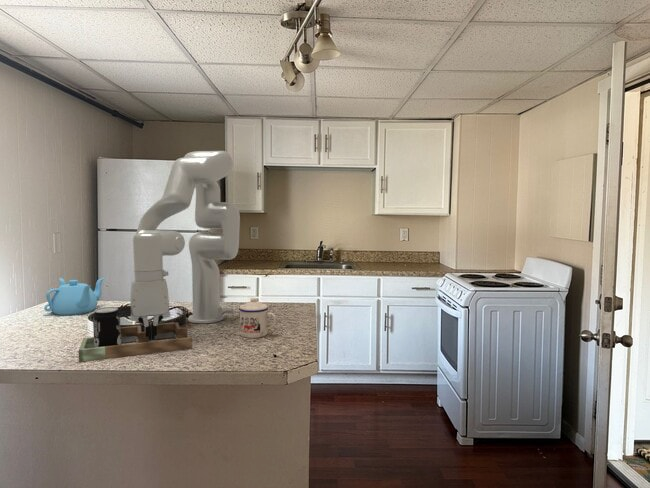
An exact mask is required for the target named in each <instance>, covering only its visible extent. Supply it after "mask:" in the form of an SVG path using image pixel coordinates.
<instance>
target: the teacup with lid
mask: <svg viewBox="0 0 650 488" xmlns="http://www.w3.org/2000/svg"><path fill="white" fill-rule="evenodd" d="M238 309H239V334H240V336H241V337H243V338H247V339H257V338H262V337H265V336H266V335H268V329H272V328H273V327H274V326H275V325H276V323H277V316H276V315H275V313H273V312H268V310H269V306H268V305H267V304H266V303H262V302H261V301H258V299H257V298H256V297H251V298H250V301H247V302H246V303H244V304H241V305H240V306H239V308H238ZM268 316H271V317H272V319H273V322H272V324H271V325H268Z"/></svg>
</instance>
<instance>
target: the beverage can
mask: <svg viewBox="0 0 650 488" xmlns="http://www.w3.org/2000/svg"><path fill="white" fill-rule="evenodd" d="M92 322H93V323H92V324H93V325H92V326H93V337H94V348H96V347H105V346H114V345H122V344H121V313H120V311H119V308H118V307H117V306H105V307H99V308H95V309H94V314H93V316H92Z"/></svg>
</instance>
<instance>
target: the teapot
mask: <svg viewBox="0 0 650 488" xmlns="http://www.w3.org/2000/svg"><path fill="white" fill-rule="evenodd" d="M105 278H106V277H101V278H99V279H97V281H96V283H95V287H94V290H92V288H91V286H92V285H89V284H87V283H79V280H78V279H71V280H68V283H67V284H66V281H65V279H64V278H63V277H59V278H58V280H59V287H56V288H55V287H54V288H51V289H48V290H47V292H46V294H45V298H46V301H47V304H45V306H44V308H43V309H44V311H45V312H52V313H53V314H55V315H57V316H75V315H77V316H78V315H82V314H86V313H87V314H88V313H91V312H93V311H95V310H96V308H97V306H98V301H99V300H100V298H101V296H102V282H103V281H104V280H105ZM53 292H54V293H53ZM51 293H53V295H52V297H51ZM48 307H49V308H48Z"/></svg>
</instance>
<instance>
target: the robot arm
mask: <svg viewBox="0 0 650 488" xmlns="http://www.w3.org/2000/svg"><path fill="white" fill-rule="evenodd" d="M233 163H234V162H233V158H232V156H231V155H230V153H228V152H227V151H225V150H197V151H191V152H188V153H186V154H185V155H184V156H183V157H180V158H177V159H176V160H175V161H173V164H172V165H171V170H170V172H169V175H168V179H167V182H166V185H165V188H164V191H163V195H162V196H161V198H160V199H158V200H157V201H156V202H155V203H153V205H151V206H150V207H149V209H148V210H146V212H144V214H143V215H142V217H141V218H140V220H139V223H138V225H137V229H136V233H135V234H134V235H133V237H132V247H133V249H132V250H133V272H134V280H132V281H131V285H130V318H129V321H132V322H138V323H140V324H141V325H143V326H145V332H146V337H148V339H149V341H156V340H155V337H154V336H157V325H158V324H160V323H161V321H163V320H164V319H167V318H170V317H171V312H170V299H169V290H168V289H169V288H168V284H167V280H166V279H165V277H166V276H169V270H164V268H163V267H164V266H163V257H164V256H176V255H178V254H180V253H182V251H183V250H184V248H185V245H186V239H185V237H184V235H183V234H181V233H180V232H179V231H176V230H164V229H158V227H159V226H160V225H161V224H162V223H163V222H164V221H165V220H166V219H168V218H171V217H172V216H175V215H177V214H179V213H181V212H184V211H185V210H187V209H189V207H190V206H191V203H192V199H193V196H194V192H195V205H194V206H195V207H194V209H195V210H194V221H195V225H196V226H197V227H199V228H201V229H209V230H210V229H211V230H213V229H214V230H215V229H216V230H222V232H214V231H213V232H210V231H209V232H207V231H206V232H205V231H203V232H197V233H194V234H193V235H191V236H190V238H189V241H188V250H189V255H190V260H191V276H192V277H191V278H192V280H191V281H192V283H191V284H192V286H191V288H192V314H190V315H189V316H188V319H187V321H189V322H190V323H193V324H211V323H217V322H221V321H223V320H224V319H225V314H233V313H234V307H222V305H221V303H220V302H221V291H220V290H221V287H220V286H221V285H220V283H221V281H220V279H221V278H220V276H221V275H220V273H221V272H220V268H219V266H218V264H217V263H216V261H215V260H224V261H226V260H233V259H235V258H236V257H237V255H238V253H239V246H240V227H241V225H240V224H241V217H240V216H241V215H240V210H239V208H238V206H237V205H236V204H235V203H233V202H227V201H226V202H223V201H222V202H221V189H220V185H219V183H218V181H220V180H221V179H223V178H225V177H227V176H228V175H229V174H230V173H231V171H232V170H233V165H234V164H233ZM152 316H153V318H152V322H151V324H150V321H149V317H152ZM151 336H152V340H151Z"/></svg>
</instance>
